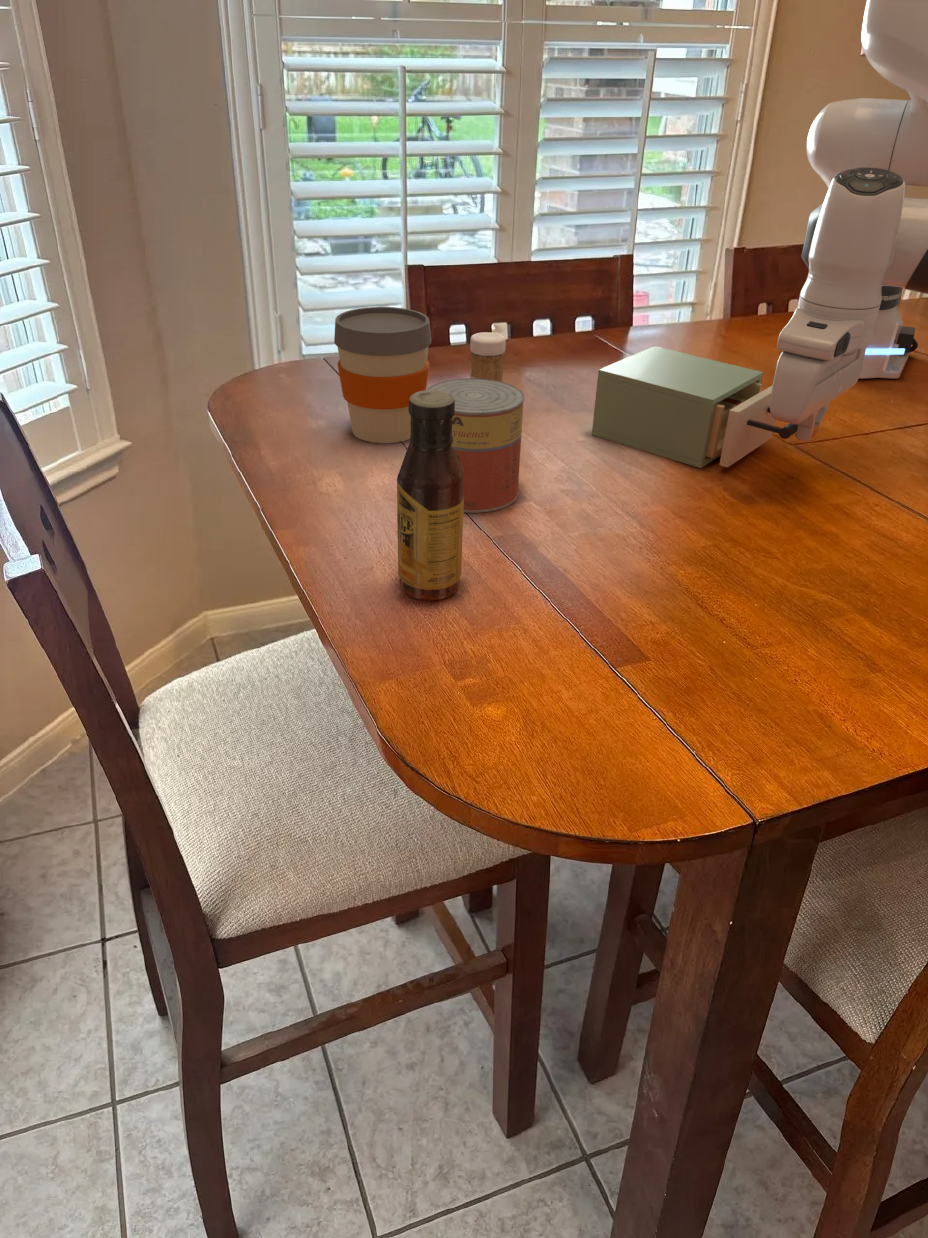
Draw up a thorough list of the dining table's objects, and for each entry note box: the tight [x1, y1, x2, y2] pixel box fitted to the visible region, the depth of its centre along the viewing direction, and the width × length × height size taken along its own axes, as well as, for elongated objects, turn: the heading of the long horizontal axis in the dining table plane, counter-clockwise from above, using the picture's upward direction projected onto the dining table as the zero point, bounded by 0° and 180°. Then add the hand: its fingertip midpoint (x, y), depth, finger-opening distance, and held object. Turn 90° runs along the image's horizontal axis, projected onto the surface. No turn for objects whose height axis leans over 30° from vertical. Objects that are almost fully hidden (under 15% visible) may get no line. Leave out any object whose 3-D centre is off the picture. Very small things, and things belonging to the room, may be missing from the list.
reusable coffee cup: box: [333, 306, 432, 444], centre depth 121 cm, size 13×13×15 cm
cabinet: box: [591, 345, 764, 469], centre depth 124 cm, size 17×15×9 cm
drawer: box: [706, 382, 798, 468], centre depth 120 cm, size 21×13×7 cm, turn 50°
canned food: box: [426, 377, 525, 514], centre depth 107 cm, size 11×11×12 cm
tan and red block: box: [716, 395, 746, 441], centre depth 121 cm, size 9×4×4 cm, turn 140°
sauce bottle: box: [396, 389, 464, 602], centre depth 86 cm, size 7×6×20 cm
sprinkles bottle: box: [469, 331, 507, 382], centre depth 121 cm, size 5×5×13 cm
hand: (806, 436), depth 114 cm, fingers closed, pressing on drawer
